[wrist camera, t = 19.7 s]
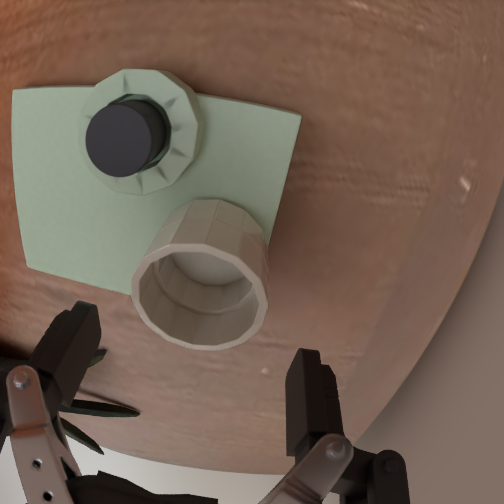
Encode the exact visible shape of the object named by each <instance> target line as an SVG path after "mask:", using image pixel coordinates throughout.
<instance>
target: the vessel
mask: <svg viewBox="0 0 504 504" xmlns="http://www.w3.org/2000/svg"><path fill="white" fill-rule="evenodd" d="M106 351H107V350H106V349H104V350H97V351H96V352H95V354H94V356H93V358H92V360H91V362H90V364H89V366H88V368H89V367H91V366H93V365H95V364H96V363H98V362H99V361H101V360H102V359H103V357H104V355H105V353H106ZM26 363H27V361H26V360H16V359H10V358H6V357H1V356H0V371H6V372H10V371H11V370H12V369H13V368H15V367H17V366H20V365H25V364H26ZM58 411H60V412H68V413H76V414H85V415H92V416H101V417H137V416H138V415H140V413H139V412H137V411H134V410H132V409H129V408H126V407H122V406H117V405H112V404H108V403H100V402H94V401H86V400H77V399H73V401H72V403H71V406H70V408H69V407H66V406H64V405H61V406H60V408H59V410H58ZM60 420H61V423H62V426H63V429H64V433H65V435H67V436H69V437H71V438H73V439H74V440H76V441H78V442H79V443H82V444H84V445H85V446H87V447H89V448H90V449H92V450H94V451H96V452H98V453H99V454H103V455H104V452H103V451H102V450H101V448H100V447H99V445H98V444H97V443H96V442H95V441H94V440H93V439H91V438H90V437H89V436H87V435H86V434H85V433H84V432H82V431H81V430H80V429H78V428H77V427H76V426H74V425H72V424H71V423H69V422H68V421H67V420H65V419H63V418H61V417H60ZM11 431H13V424H12V423H11V426H10V428H9V431H8V434H7V436H10V432H11Z"/></svg>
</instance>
